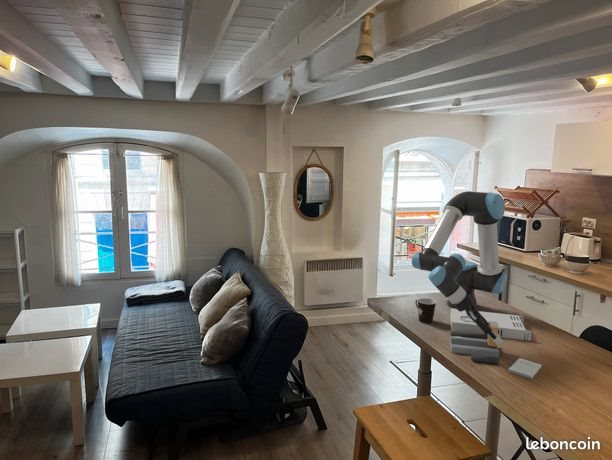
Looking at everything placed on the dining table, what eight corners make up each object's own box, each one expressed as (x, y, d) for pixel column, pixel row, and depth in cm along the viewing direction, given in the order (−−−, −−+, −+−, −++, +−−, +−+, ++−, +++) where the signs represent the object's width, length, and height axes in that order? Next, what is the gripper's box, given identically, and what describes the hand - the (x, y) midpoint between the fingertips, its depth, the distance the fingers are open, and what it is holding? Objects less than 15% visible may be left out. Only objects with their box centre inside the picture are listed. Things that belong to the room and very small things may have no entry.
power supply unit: (530, 341, 192) (531, 331, 191) (450, 332, 201) (451, 322, 200) (522, 325, 210) (523, 315, 209) (450, 317, 219) (450, 308, 218)
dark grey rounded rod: (450, 337, 194) (450, 332, 194) (450, 335, 196) (450, 330, 196) (490, 341, 190) (490, 336, 190) (489, 339, 193) (489, 334, 192)
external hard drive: (507, 372, 165) (518, 361, 174) (531, 380, 159) (541, 368, 168) (508, 368, 164) (519, 357, 173) (531, 376, 159) (541, 364, 168)
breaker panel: (451, 352, 180) (451, 346, 179) (449, 341, 190) (449, 335, 190) (498, 357, 175) (499, 351, 175) (494, 346, 186) (494, 339, 186)
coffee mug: (436, 324, 209) (438, 304, 207) (418, 324, 209) (419, 304, 207) (430, 315, 220) (431, 296, 218) (413, 315, 220) (414, 296, 218)
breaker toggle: (488, 345, 179) (490, 324, 177) (487, 341, 183) (488, 321, 181) (496, 346, 178) (498, 325, 177) (494, 342, 182) (496, 321, 181)
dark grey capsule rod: (470, 361, 172) (471, 356, 171) (470, 359, 174) (470, 353, 173) (499, 365, 169) (500, 359, 169) (498, 362, 172) (498, 356, 171)
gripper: (450, 297, 190) (488, 338, 189) (454, 311, 173) (495, 355, 173) (464, 287, 188) (503, 327, 187) (469, 299, 171) (511, 344, 170)
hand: (499, 341), depth 180 cm, fingers closed on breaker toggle, 4 cm apart
